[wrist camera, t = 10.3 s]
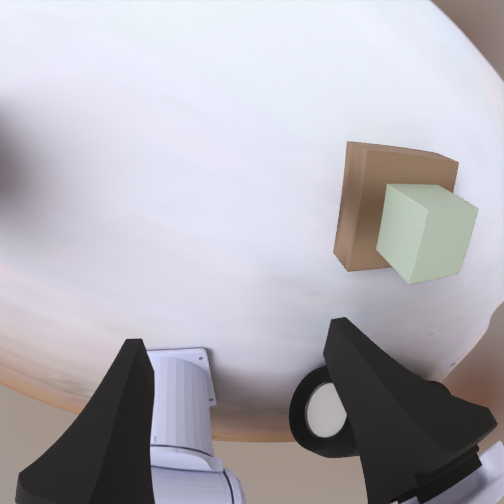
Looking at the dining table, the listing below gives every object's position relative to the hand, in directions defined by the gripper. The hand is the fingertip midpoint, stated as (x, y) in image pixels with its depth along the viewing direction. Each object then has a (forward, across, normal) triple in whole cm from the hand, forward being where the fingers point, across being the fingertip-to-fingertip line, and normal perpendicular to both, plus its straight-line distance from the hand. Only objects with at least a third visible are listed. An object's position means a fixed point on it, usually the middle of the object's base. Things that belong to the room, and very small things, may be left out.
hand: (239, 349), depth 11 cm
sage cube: (+7, -12, -2) cm, 14 cm away
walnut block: (+10, -12, -2) cm, 16 cm away
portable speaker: (+10, -18, +22) cm, 30 cm away
